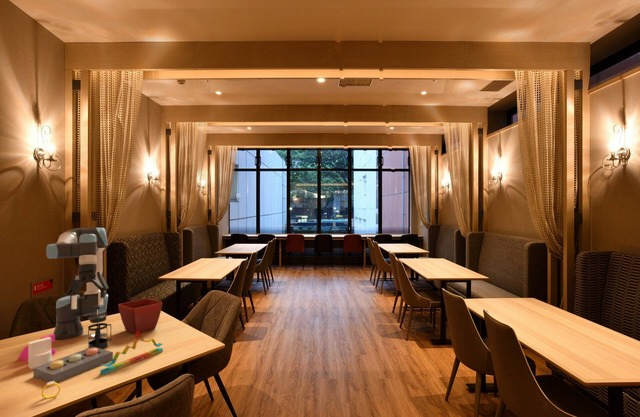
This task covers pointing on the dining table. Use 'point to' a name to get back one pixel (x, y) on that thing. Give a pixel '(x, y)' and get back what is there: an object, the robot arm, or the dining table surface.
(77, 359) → the sage button
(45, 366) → the button panel
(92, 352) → the terracotta button
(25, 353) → the bracket
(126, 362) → the chart
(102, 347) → the french press
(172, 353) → the dining table surface
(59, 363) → the ochre button
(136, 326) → the plant pot
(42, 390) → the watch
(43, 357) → the translucent white block
